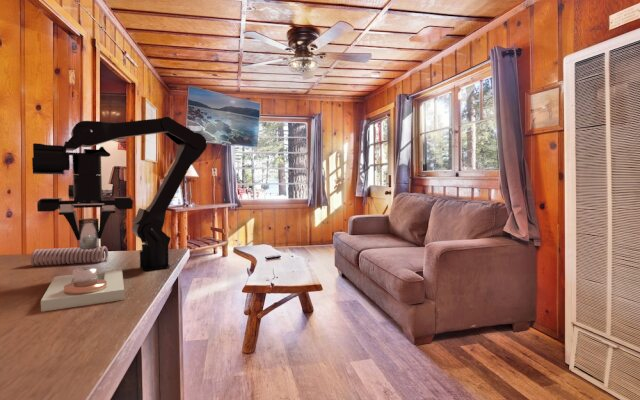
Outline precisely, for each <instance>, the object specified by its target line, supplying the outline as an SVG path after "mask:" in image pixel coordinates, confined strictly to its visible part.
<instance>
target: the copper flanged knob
mask: <svg viewBox="0 0 640 400" xmlns="http://www.w3.org/2000/svg"><path fill="white" fill-rule="evenodd" d="M97 272H98V267H96V266H84V267H83V266H82V267H77V268H74V269H73V270H72V275H73V283H69V284H67V285H65V286H64V293H65V294H68V295H82V294H89V293H94V292H98V291H101V290H103V289H105V288H106V287H107V283H106V280H102V279H98V276H97Z"/></svg>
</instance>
